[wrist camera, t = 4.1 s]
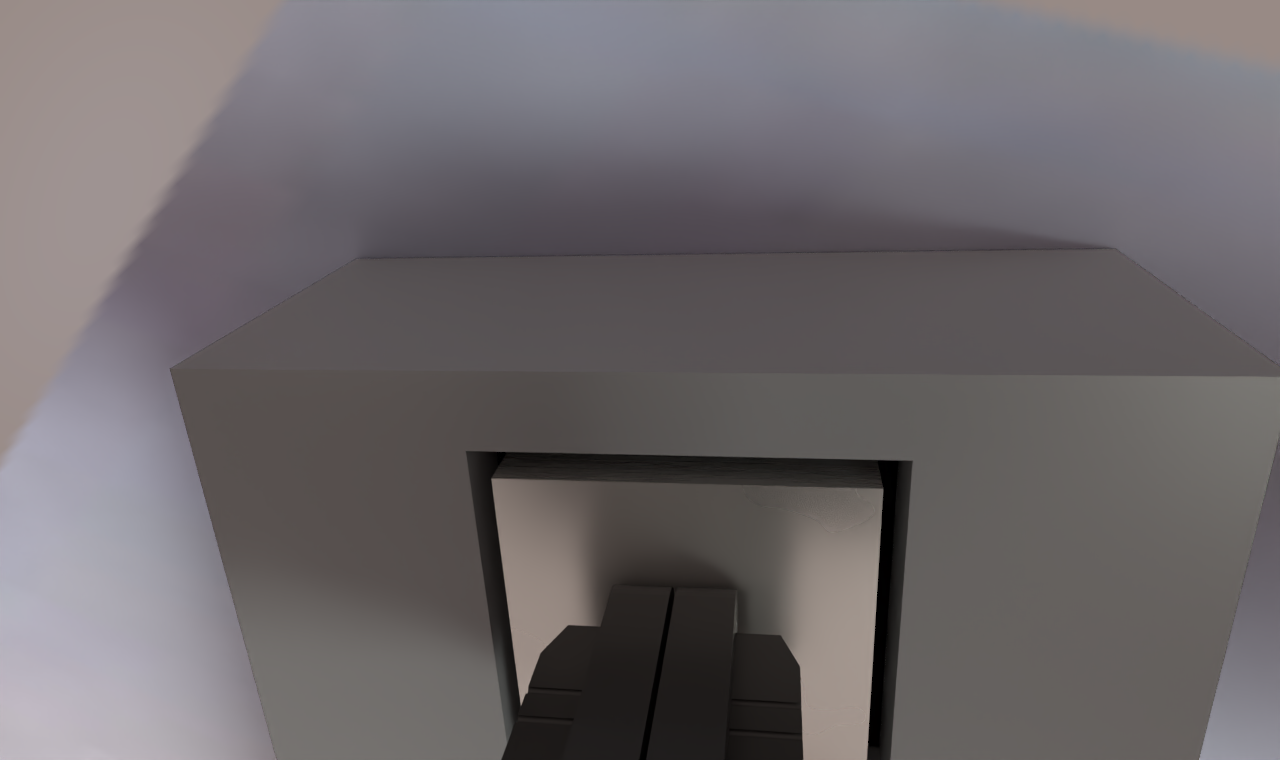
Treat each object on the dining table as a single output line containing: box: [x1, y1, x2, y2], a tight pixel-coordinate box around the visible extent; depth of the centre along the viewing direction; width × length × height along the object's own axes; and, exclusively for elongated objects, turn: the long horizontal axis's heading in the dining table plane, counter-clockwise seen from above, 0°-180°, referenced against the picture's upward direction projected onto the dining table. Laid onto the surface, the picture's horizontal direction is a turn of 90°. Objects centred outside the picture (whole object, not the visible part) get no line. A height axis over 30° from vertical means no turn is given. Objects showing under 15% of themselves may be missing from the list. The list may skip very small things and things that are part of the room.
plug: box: [491, 452, 883, 760], centre depth 13 cm, size 4×4×4 cm
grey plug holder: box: [170, 249, 1280, 760], centre depth 14 cm, size 12×14×5 cm
